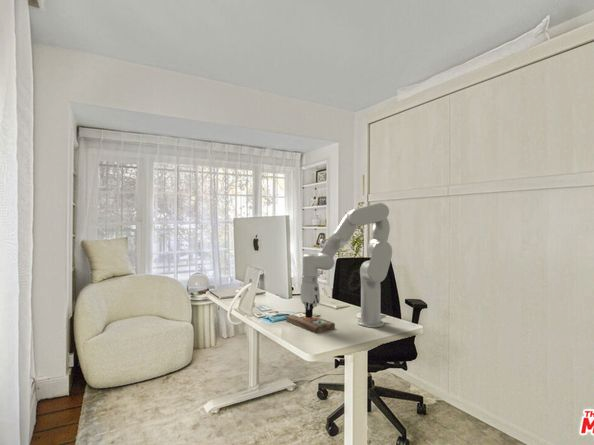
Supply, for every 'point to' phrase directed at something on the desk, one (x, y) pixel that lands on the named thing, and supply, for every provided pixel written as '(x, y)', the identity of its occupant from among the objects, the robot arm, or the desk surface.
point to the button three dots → (319, 322)
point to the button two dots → (310, 319)
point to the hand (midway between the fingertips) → (308, 316)
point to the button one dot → (299, 315)
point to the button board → (310, 324)
